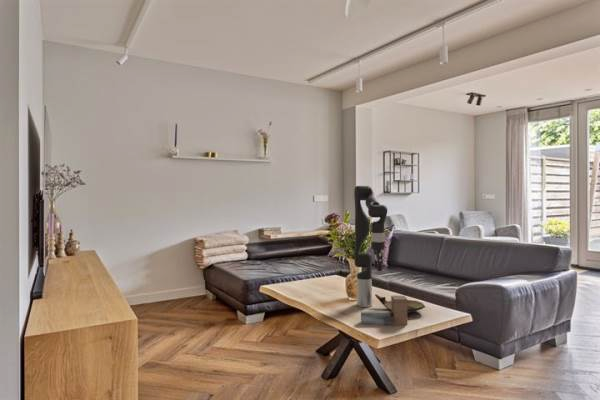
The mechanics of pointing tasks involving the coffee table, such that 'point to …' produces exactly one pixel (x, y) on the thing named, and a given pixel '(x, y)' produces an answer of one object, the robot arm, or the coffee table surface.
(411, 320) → the coffee table surface
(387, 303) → the cracked wood slice
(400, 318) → the dark u-channel
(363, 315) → the gray rectangular block
